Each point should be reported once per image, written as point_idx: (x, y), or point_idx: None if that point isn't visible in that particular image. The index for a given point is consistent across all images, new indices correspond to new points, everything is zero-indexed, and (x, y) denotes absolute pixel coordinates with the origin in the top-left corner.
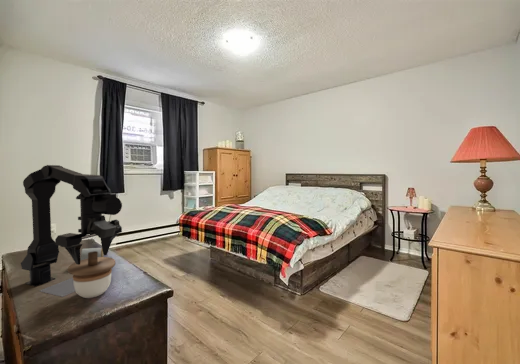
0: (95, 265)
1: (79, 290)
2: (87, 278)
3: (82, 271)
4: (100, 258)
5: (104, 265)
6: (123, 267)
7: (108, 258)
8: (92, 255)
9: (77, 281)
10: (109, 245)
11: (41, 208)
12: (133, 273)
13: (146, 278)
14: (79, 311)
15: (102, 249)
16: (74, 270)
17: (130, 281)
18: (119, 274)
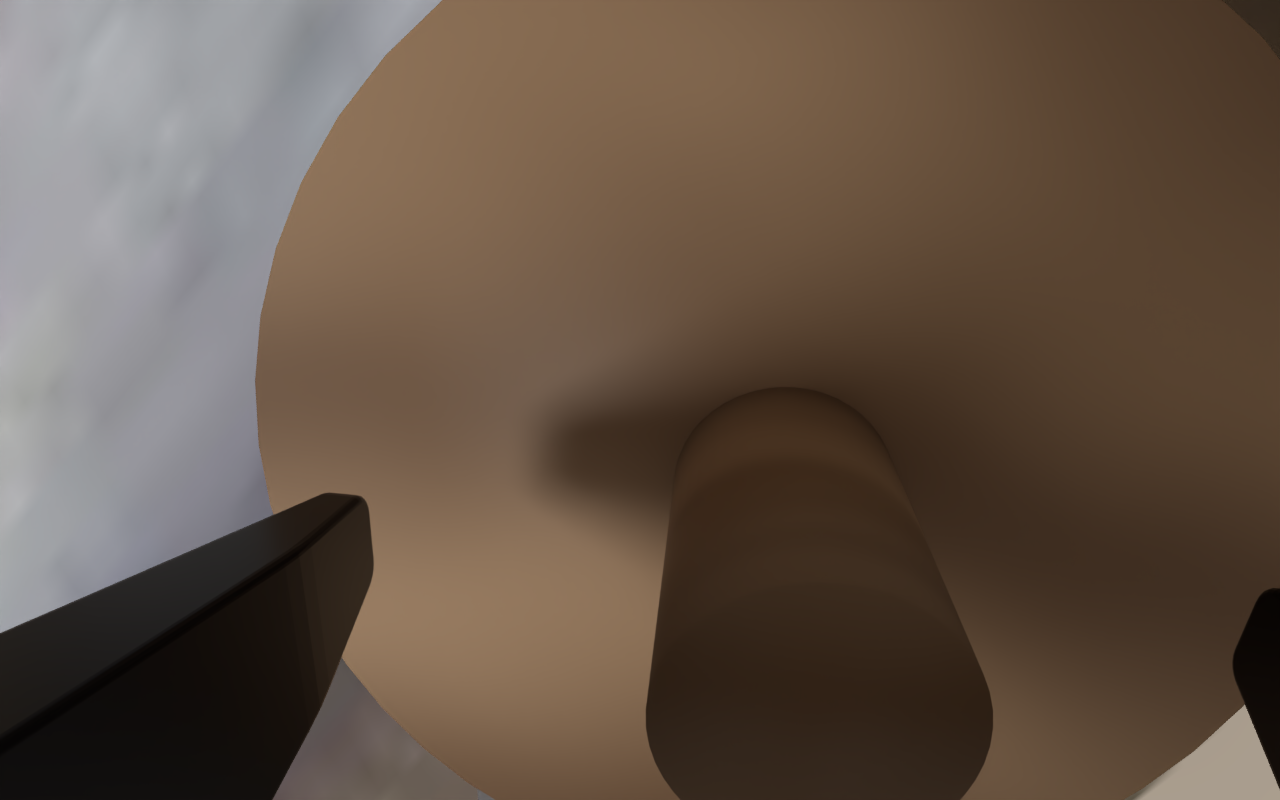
0: (812, 374)
1: None
2: None
3: (1267, 351)
4: (416, 614)
5: (722, 140)
6: (15, 536)
7: (314, 446)
8: (934, 599)
9: None
10: (23, 645)
11: None
12: (50, 244)
13: None
14: (1238, 6)
15: (296, 746)
16: (1245, 573)
17: (254, 51)
18: (181, 417)
